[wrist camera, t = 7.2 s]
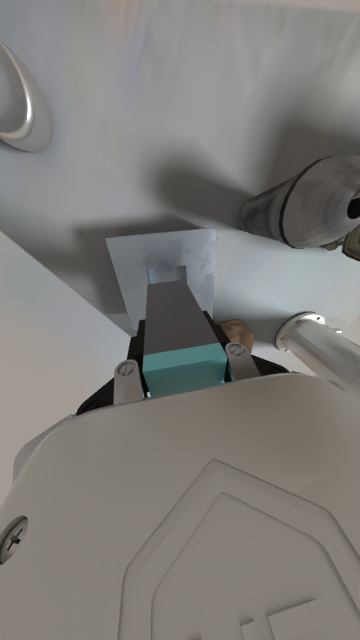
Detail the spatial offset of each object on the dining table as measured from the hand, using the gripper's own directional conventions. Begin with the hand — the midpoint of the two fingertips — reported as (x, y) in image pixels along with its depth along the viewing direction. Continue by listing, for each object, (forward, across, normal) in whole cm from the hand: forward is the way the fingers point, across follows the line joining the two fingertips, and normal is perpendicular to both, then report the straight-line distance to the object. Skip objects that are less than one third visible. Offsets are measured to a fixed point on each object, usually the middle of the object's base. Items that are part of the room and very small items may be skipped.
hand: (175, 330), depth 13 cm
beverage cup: (+18, -16, -8) cm, 25 cm away
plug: (+6, 0, 0) cm, 6 cm away
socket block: (+18, -1, 0) cm, 18 cm away
